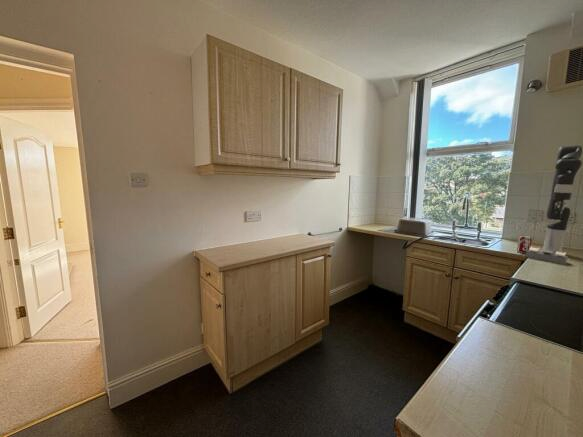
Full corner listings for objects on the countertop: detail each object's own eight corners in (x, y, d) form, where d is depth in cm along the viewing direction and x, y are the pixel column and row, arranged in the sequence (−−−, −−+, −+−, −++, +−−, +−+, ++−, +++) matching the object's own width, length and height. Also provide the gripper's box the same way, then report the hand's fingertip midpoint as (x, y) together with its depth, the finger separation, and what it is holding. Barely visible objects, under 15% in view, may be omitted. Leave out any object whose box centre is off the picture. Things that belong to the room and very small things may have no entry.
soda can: (523, 251, 177) (526, 235, 175) (532, 254, 170) (535, 237, 168) (513, 251, 177) (516, 235, 175) (521, 253, 171) (524, 237, 169)
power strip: (527, 255, 168) (529, 248, 167) (566, 262, 154) (568, 255, 153) (525, 257, 163) (526, 250, 162) (565, 264, 149) (566, 257, 148)
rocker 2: (556, 252, 156) (556, 250, 156) (565, 253, 153) (566, 252, 153) (554, 254, 153) (555, 253, 153) (564, 256, 150) (564, 254, 149)
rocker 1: (531, 247, 166) (531, 246, 165) (539, 248, 163) (539, 247, 162) (528, 250, 162) (529, 249, 162) (537, 252, 159) (537, 250, 159)
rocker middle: (543, 251, 161) (543, 249, 161) (551, 253, 158) (552, 251, 158) (541, 251, 157) (542, 249, 157) (550, 252, 154) (551, 250, 154)
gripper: (555, 191, 158) (550, 217, 161) (552, 191, 150) (547, 219, 153) (573, 192, 152) (567, 219, 155) (570, 192, 145) (564, 220, 147)
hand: (557, 219), depth 154 cm, fingers closed
